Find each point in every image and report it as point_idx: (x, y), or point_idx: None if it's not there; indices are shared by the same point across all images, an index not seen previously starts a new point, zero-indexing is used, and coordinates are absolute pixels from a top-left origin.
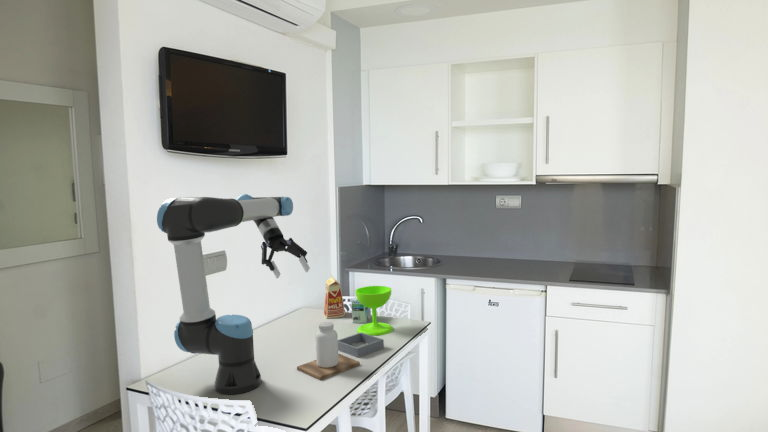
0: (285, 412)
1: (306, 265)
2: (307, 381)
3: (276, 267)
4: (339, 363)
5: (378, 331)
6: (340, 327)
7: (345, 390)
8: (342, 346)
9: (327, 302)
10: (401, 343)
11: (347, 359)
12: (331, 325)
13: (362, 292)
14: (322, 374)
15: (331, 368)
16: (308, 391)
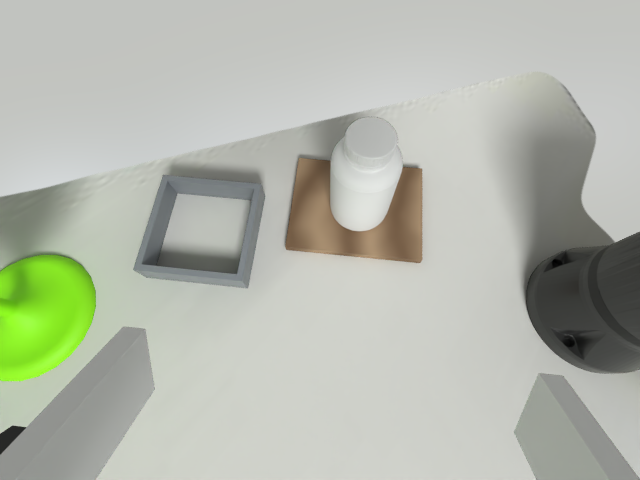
0: (553, 124)
1: (116, 368)
2: (443, 190)
3: (619, 475)
4: None
5: (65, 270)
6: None
7: (414, 104)
8: (250, 250)
9: None
10: (121, 173)
11: (304, 190)
12: (367, 117)
13: None
14: (409, 173)
15: None
16: (471, 153)
